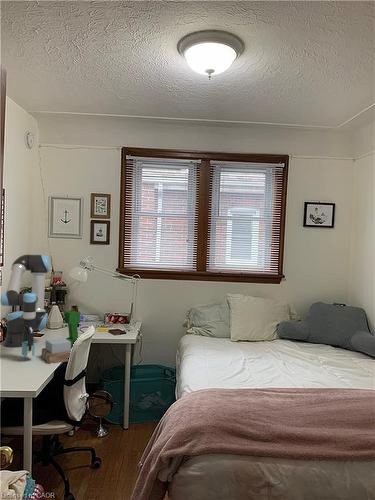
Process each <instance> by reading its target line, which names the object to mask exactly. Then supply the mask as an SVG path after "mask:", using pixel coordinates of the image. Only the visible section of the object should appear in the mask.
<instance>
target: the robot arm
mask: <svg viewBox="0 0 375 500" xmlns="http://www.w3.org/2000/svg"><path fill="white" fill-rule="evenodd" d="M49 258H50V257H49V256H48V255H46V254H22V255H20V256H19V257H17V258H16V259H15V260H14V262H12V265H11V268H10V269H11V270H10V271H11V273H10V276H9V277H10V278H9V281H8V285H7V289H6V292H5V293H3V294H1V296H0V305H1V306H4V307H6V306H7V307H18V306H20V307H22V310H20V311H19V310H18V311H14V312H11V313H8V314H7V318H6V319H7V320H6V321H7V323H6V336H5V338H4V341H3V346H4V347H7V348H20V347H22V342H25V341H28V345H27V357H31V356H32V345H33V342H34V331H35V330H37V331H41V330H45V329H46V327H47V322H48V317H49V316H48V315H49V313H47V312H46V311H47V310H46V309H44V308H45V306H44V305H45V288H46V287H45V285H46V276H47V275H48V272H50V270H51V269H50V266H51V265H50V259H49ZM26 271H29V272H30V274H31V276H32V281H31V292H26V293H23V294H22V293H20V290H21V285H22V281H23V276H24V274H25V273H26ZM32 357H33V356H32Z"/></svg>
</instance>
